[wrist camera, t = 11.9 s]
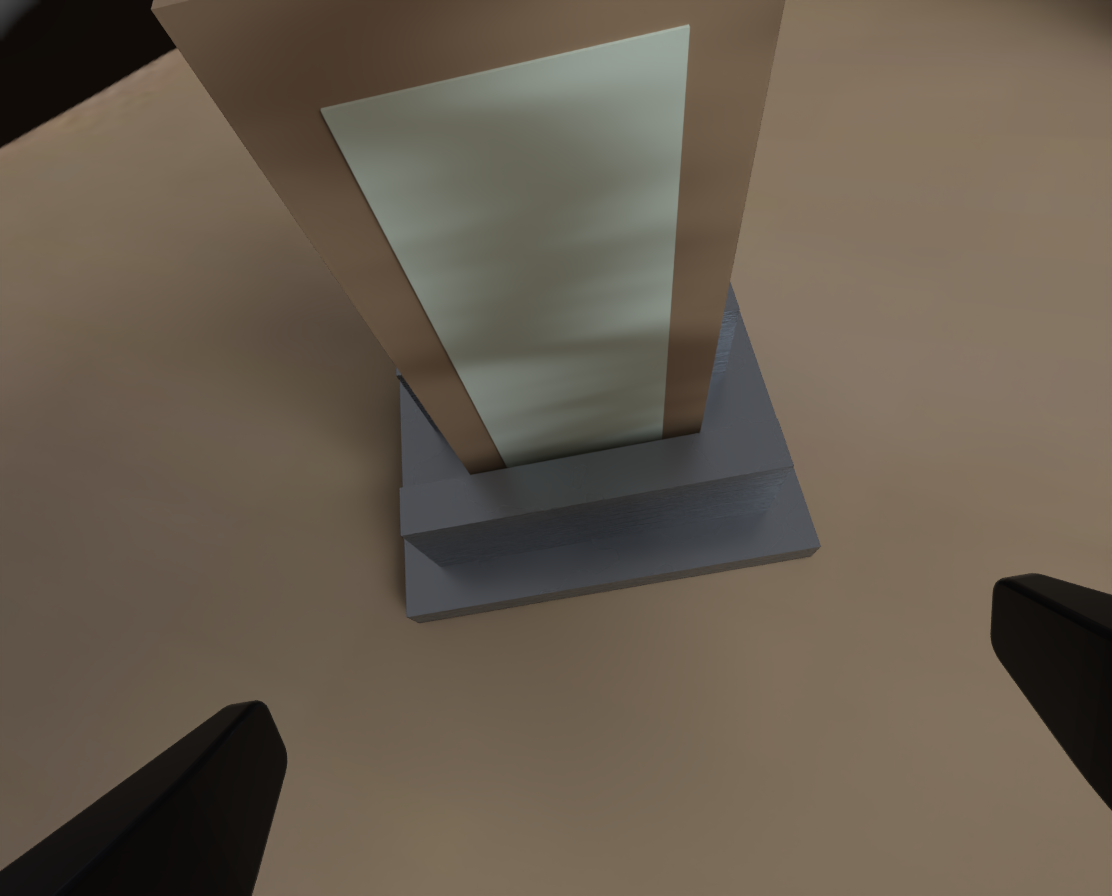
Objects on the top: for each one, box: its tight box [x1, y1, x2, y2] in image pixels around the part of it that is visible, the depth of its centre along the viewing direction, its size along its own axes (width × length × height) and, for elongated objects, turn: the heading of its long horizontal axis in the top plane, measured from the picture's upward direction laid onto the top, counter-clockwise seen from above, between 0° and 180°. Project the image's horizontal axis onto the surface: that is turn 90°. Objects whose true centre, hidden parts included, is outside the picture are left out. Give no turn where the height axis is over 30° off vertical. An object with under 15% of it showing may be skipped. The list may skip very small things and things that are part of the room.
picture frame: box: [151, 0, 785, 475], centre depth 12 cm, size 6×2×13 cm, turn 98°
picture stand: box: [396, 283, 821, 623], centre depth 16 cm, size 11×8×4 cm
